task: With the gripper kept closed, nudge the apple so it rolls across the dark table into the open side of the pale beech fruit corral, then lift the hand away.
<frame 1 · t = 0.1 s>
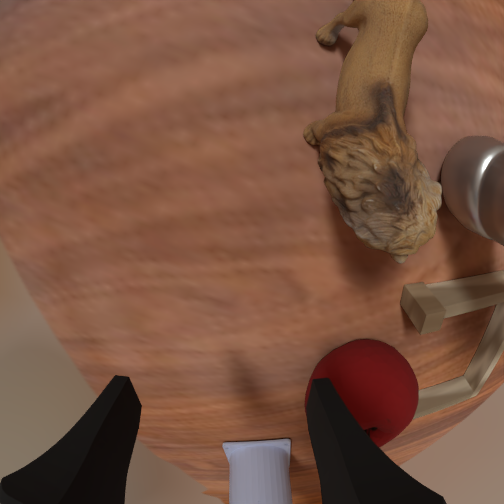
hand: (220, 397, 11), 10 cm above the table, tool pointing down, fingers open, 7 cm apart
lion figurine: (350, 91, 15), on the table
apple: (347, 358, 24), on the table
plastic bottle: (462, 174, 17), on the table
corral: (445, 346, 24), on the table
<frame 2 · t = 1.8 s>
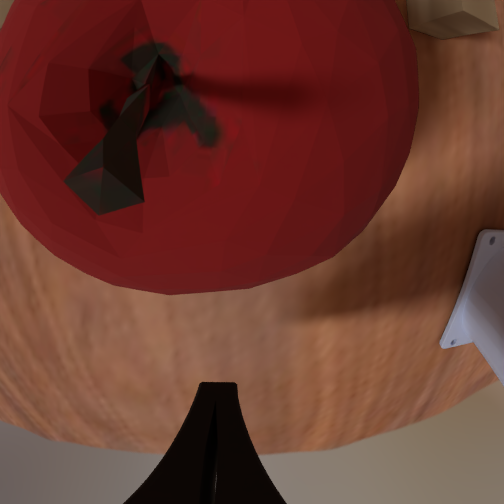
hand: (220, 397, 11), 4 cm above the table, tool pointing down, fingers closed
apple: (216, 96, 10), on the table
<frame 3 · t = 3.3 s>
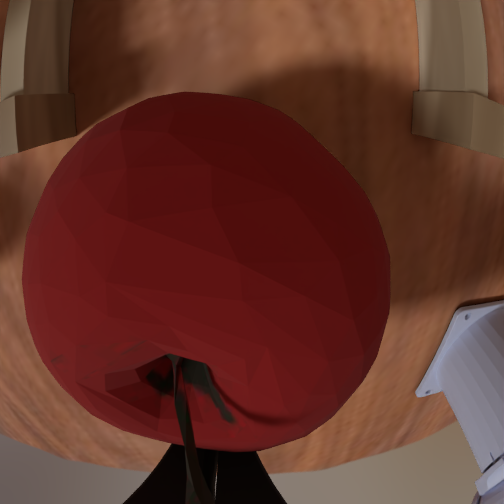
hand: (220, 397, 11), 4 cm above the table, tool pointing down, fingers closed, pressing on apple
apple: (218, 216, 12), on the table, touching gripper
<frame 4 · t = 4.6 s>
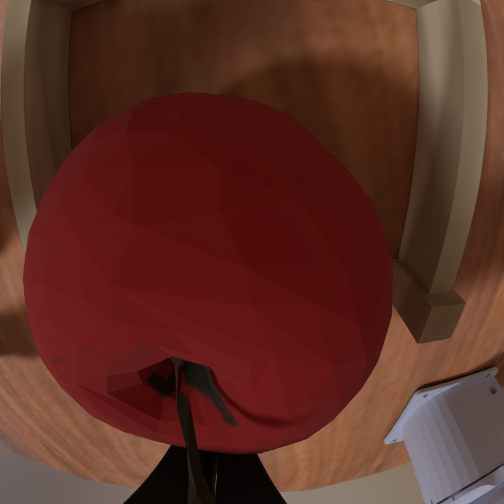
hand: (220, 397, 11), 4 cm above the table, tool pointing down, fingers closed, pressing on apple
apple: (219, 217, 12), on the table, touching gripper
corral: (243, 126, 10), on the table
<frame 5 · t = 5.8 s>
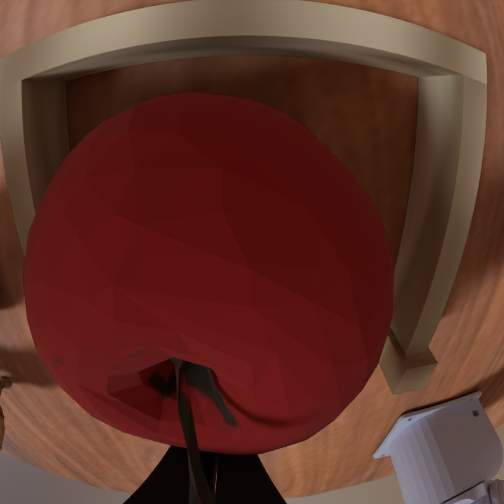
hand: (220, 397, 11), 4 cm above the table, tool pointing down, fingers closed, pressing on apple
apple: (220, 217, 12), on the table, touching gripper
corral: (242, 212, 12), on the table
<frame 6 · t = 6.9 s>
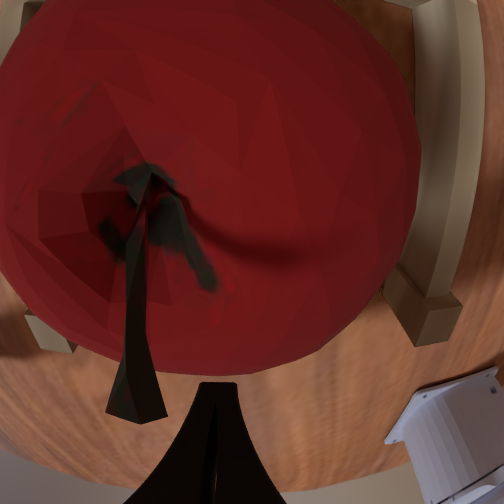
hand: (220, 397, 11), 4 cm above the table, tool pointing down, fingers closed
apple: (213, 138, 10), on the table
corral: (237, 131, 10), on the table
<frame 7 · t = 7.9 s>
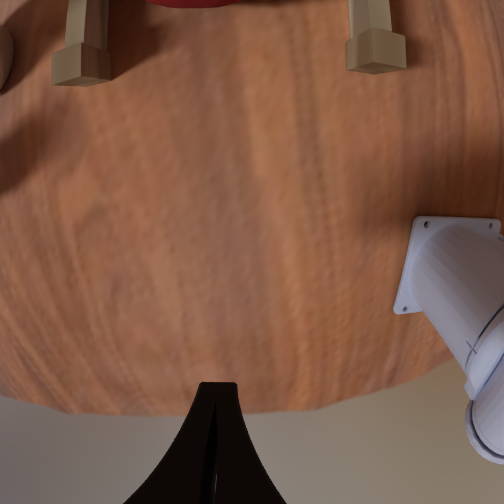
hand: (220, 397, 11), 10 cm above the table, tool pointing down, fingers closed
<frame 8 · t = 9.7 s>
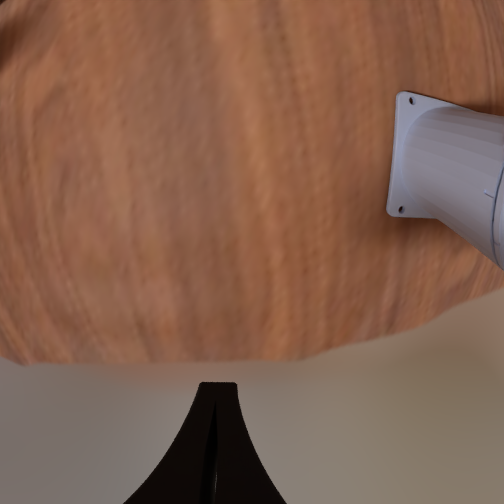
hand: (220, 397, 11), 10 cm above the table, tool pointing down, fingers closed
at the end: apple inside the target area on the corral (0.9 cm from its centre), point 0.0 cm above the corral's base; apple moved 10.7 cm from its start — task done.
